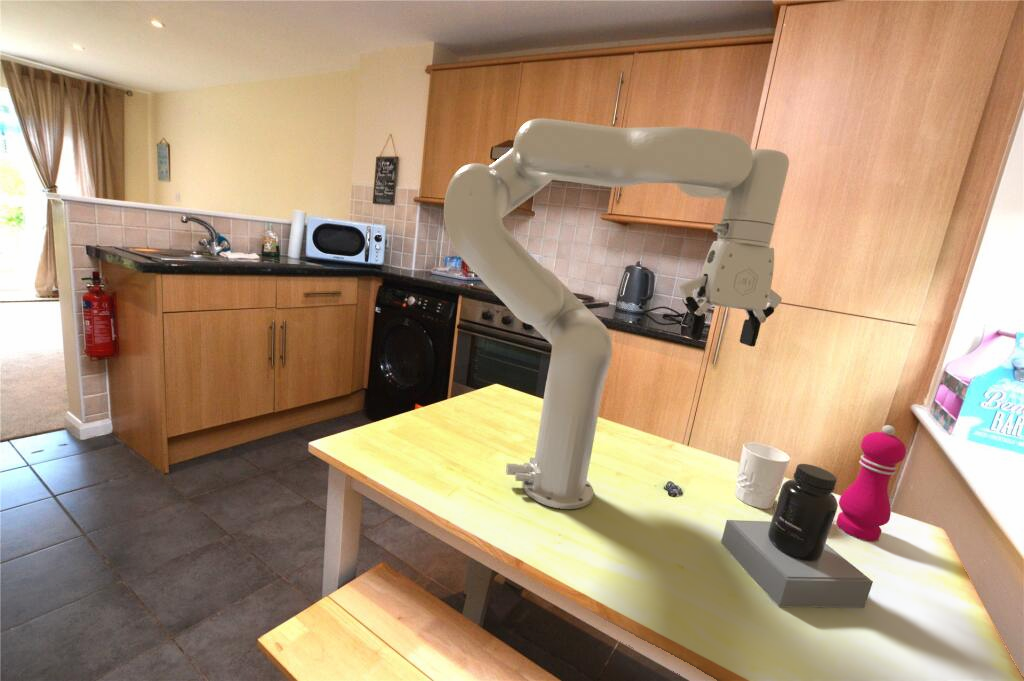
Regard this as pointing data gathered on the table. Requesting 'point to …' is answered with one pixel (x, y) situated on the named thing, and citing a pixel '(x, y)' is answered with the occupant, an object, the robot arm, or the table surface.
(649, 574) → the table surface
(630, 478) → the table surface
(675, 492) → the blueberries
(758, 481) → the white cup
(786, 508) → the supplement bottle
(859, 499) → the pepper mill
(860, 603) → the slate riser
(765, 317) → the robot arm
